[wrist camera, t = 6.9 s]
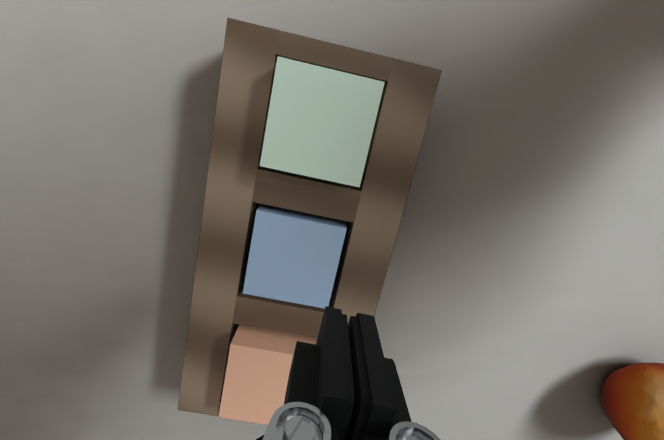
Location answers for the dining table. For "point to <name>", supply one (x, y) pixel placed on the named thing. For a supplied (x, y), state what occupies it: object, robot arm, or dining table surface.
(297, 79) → the sage key
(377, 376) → the robot arm
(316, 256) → the slate key
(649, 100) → the dining table surface
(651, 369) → the fruit
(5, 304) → the dining table surface
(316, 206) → the key panel
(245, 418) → the terracotta key
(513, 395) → the dining table surface
